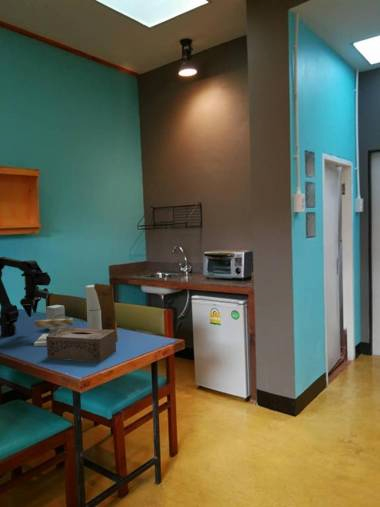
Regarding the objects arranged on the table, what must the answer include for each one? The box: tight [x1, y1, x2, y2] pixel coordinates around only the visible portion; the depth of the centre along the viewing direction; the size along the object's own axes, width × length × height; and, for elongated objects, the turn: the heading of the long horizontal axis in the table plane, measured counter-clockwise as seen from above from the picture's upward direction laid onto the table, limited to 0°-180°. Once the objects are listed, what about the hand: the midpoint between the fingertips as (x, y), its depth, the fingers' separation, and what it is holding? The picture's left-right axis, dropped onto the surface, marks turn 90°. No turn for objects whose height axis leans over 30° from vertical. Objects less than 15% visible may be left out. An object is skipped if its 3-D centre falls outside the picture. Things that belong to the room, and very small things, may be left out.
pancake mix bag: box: [93, 282, 119, 342], centre depth 200 cm, size 7×19×28 cm, turn 33°
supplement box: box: [45, 304, 66, 330], centre depth 224 cm, size 7×7×13 cm
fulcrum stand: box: [33, 326, 62, 347], centre depth 200 cm, size 16×16×8 cm
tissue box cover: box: [46, 327, 117, 363], centre depth 177 cm, size 26×14×10 cm, turn 75°
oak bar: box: [34, 317, 74, 328], centre depth 200 cm, size 18×3×3 cm, turn 96°
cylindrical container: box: [85, 284, 102, 329], centre depth 213 cm, size 7×7×25 cm
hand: (32, 314), depth 207 cm, fingers open, 9 cm apart
